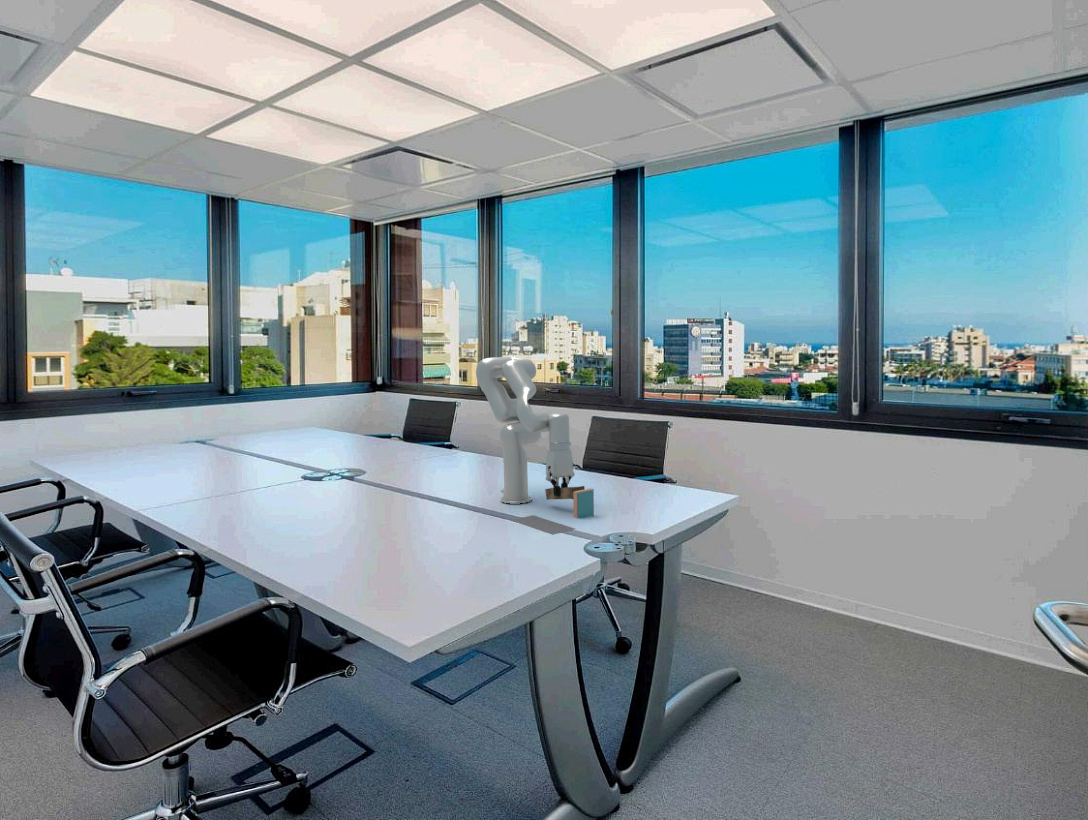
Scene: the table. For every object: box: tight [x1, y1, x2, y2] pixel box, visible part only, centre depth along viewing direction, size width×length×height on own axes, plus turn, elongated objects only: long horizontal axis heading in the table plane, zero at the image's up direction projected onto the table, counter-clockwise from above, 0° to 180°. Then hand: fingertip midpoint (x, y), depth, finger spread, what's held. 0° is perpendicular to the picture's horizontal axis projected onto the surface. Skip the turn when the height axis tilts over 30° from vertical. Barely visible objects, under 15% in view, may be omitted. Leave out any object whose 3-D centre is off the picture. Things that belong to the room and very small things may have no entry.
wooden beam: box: [544, 485, 586, 501], centre depth 242 cm, size 18×6×4 cm, turn 37°
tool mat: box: [511, 514, 576, 535], centre depth 224 cm, size 24×10×1 cm, turn 38°
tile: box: [572, 488, 595, 519], centre depth 233 cm, size 2×8×10 cm, turn 128°
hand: (560, 494), depth 244 cm, fingers closed on wooden beam, 3 cm apart
